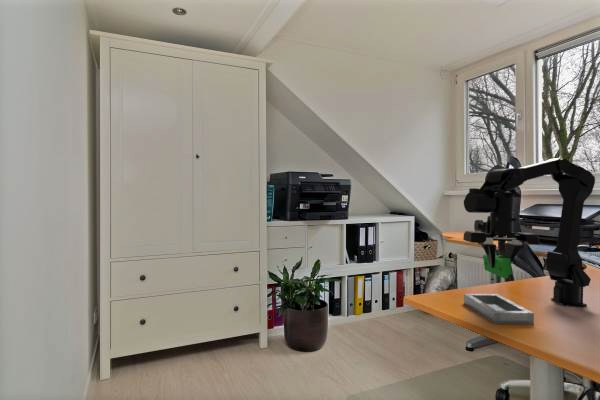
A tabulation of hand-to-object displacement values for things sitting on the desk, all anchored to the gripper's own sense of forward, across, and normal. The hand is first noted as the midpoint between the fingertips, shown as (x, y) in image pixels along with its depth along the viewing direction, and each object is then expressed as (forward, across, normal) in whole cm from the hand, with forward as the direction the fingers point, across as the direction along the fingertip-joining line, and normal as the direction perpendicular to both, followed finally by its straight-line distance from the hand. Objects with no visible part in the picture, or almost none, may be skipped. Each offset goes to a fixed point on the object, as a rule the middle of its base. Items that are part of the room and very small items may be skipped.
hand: (499, 267), depth 105 cm
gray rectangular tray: (+12, +3, +4) cm, 13 cm away
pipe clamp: (+2, 0, 0) cm, 2 cm away
